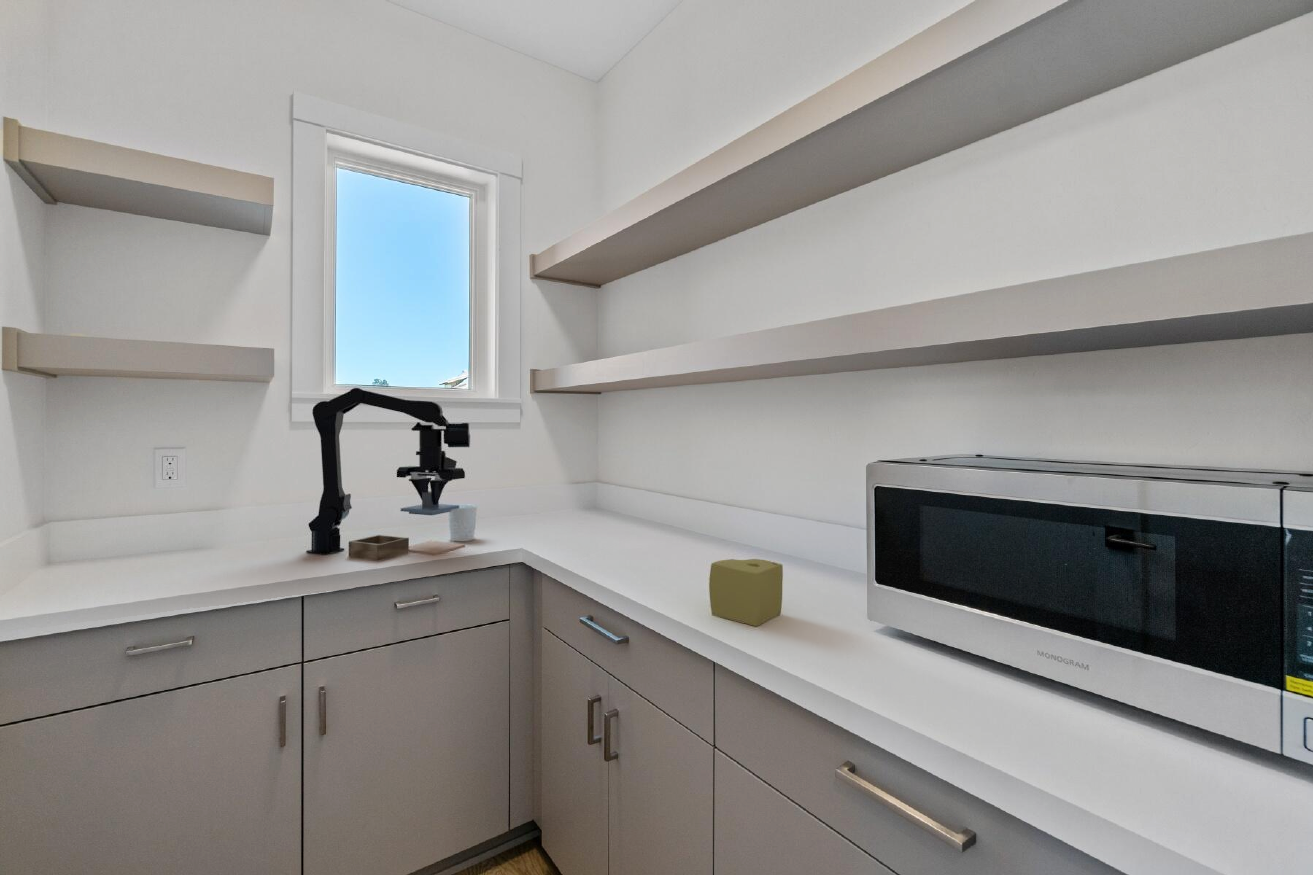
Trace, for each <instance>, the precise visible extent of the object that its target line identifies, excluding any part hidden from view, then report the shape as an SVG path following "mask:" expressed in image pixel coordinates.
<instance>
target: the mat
mask: <svg viewBox="0 0 1313 875" xmlns="http://www.w3.org/2000/svg"><path fill="white" fill-rule="evenodd" d="M464 547H466V544H464V543H458V542H457V543H454V542H447V541H446V542H445V541H438V540H428V541H424V542H420V543H416V544H411V545H409V553H412V554H413V553H414V554H425V555H432V556H438V555H441V554H443V553H447V552H448V553H449V552H452V551H454V550H457V549H461V548H464Z"/></svg>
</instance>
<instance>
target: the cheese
mask: <svg viewBox="0 0 1313 875" xmlns="http://www.w3.org/2000/svg"><path fill="white" fill-rule="evenodd" d="M783 570H784V569H783V564H782V563H779V562H778V563H777V562H775V561H771V560H765V559H760V558H752V559H751V558H750V559H735V558H731V559H724V560H716V561H714V562H711V565H710V570H709V571H710V572H709V578H708V580H709V582H708V588H709V589H708V590H709V604H710V609H711V610H710V611H711V616H714V617H718V618H720V619H721V618H723V619H726V620H729V621H733V622H738V623H743V624H745V623H746V625H748V626H749V625H751V626H752V627H753V626H754V627H758V626H760V625H763V624H764V623H766V622H768V621H769V620H770V621H771V618H772V619H774V618H775V616H776V617H778V616H780V615H781V614H782V604H783V581H784V578H783V577H784V574H783V573H784V572H783ZM777 615H778V616H777ZM762 623H763V624H762Z"/></svg>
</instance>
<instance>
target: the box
mask: <svg viewBox="0 0 1313 875" xmlns="http://www.w3.org/2000/svg"><path fill="white" fill-rule="evenodd" d="M409 540H410V538H409V537H403V536H392V535H384V534H377V535H372V536H367V537H363V538H359V539H354V540H349V541H348V558H351V559H352V558H353V559H361V560H370V561H377V562H381V561H384V560H387V559H388V560H389V559H391V558H396V557H399V556H403V555H407V554H409V553H410V552H409V546H410V541H409Z"/></svg>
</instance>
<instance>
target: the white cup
mask: <svg viewBox="0 0 1313 875" xmlns="http://www.w3.org/2000/svg"><path fill="white" fill-rule="evenodd" d="M458 505H459V508H458V509H453V510H451V512H448V516H449V517H448V520H449V522H448V523H449V525H448V526H449V535H450V536H449V537H450V538H449V539H450V541H452V542H469V541H473V540H474V539H475V530H476V522H477V507H478V506H477V505H475V504H469V503H468V504H466V503H465V504H458Z"/></svg>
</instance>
